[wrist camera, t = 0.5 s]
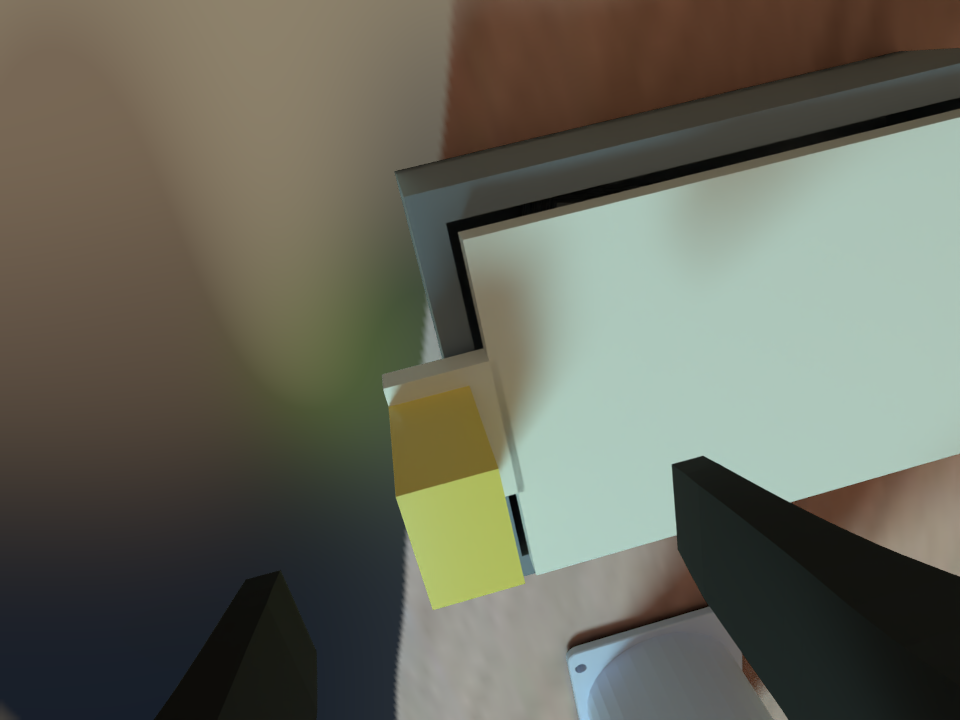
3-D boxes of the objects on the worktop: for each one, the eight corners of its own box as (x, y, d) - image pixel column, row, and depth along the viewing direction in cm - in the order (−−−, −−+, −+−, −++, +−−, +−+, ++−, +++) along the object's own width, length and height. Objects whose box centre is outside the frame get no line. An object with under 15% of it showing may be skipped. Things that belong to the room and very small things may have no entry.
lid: (957, 434, 20) (1107, 523, 16) (445, 580, 18) (467, 716, 14) (1009, 96, 15) (1236, 101, 11) (346, 259, 14) (340, 328, 10)
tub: (871, 386, 24) (973, 446, 20) (477, 495, 23) (501, 582, 19) (899, 51, 19) (1042, 43, 15) (394, 171, 18) (403, 196, 14)
